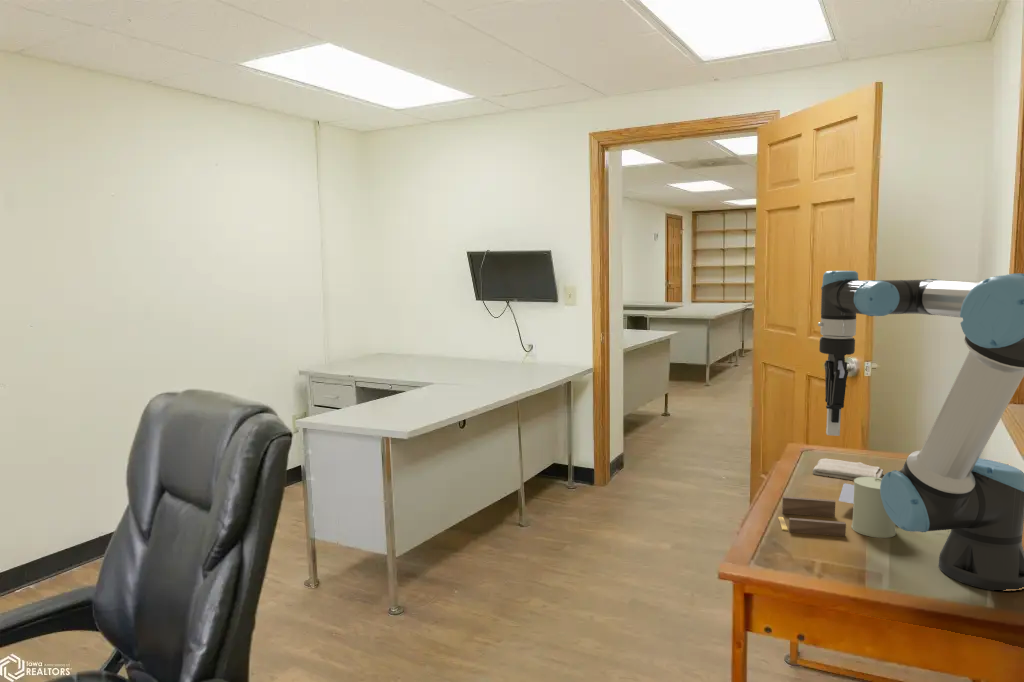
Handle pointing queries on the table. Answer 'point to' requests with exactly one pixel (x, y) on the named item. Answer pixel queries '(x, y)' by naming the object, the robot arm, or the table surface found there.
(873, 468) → the washcloth
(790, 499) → the channel
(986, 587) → the robot arm
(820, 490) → the table surface
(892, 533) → the can
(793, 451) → the table surface
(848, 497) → the wedge on round base
